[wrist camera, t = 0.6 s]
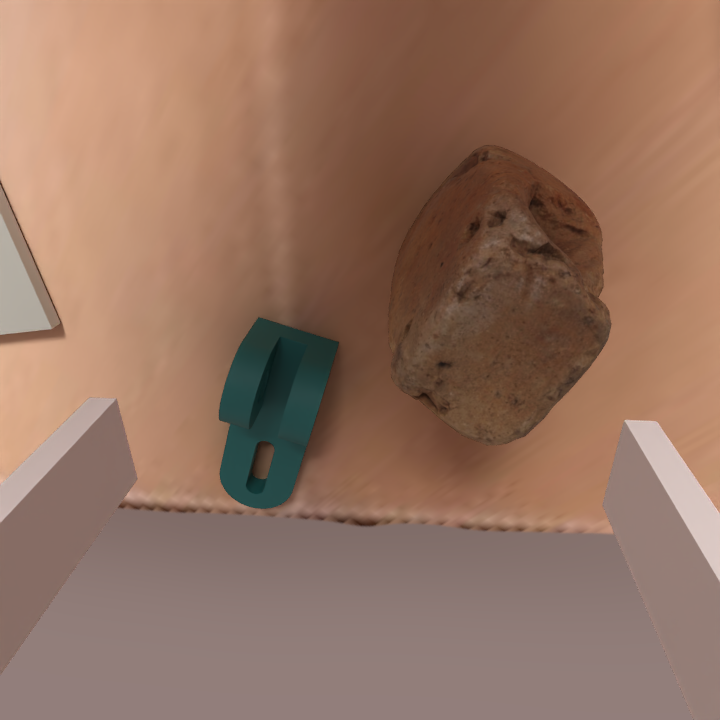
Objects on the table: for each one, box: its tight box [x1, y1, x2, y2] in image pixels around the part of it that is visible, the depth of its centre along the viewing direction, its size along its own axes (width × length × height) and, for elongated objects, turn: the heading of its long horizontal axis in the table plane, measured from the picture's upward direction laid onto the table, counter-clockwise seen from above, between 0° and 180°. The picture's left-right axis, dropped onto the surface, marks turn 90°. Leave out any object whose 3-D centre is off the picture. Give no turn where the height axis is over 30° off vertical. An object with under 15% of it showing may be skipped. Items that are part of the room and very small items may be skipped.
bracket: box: [219, 317, 339, 509], centre depth 45 cm, size 18×7×8 cm, turn 163°
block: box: [388, 145, 611, 445], centre depth 30 cm, size 11×8×20 cm
